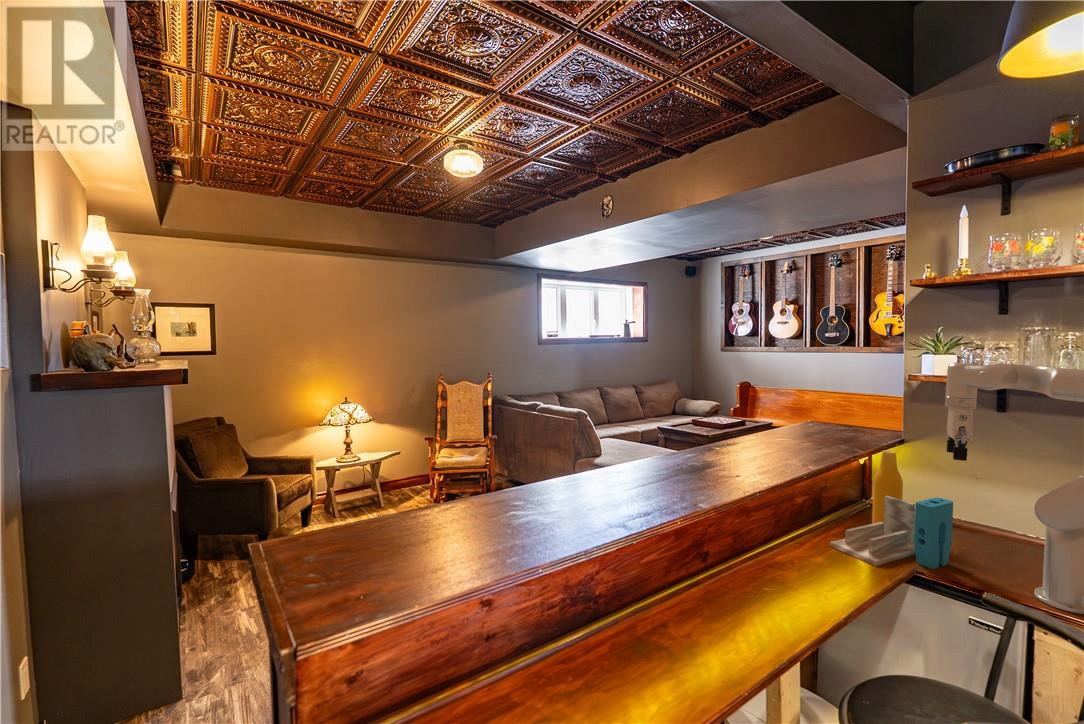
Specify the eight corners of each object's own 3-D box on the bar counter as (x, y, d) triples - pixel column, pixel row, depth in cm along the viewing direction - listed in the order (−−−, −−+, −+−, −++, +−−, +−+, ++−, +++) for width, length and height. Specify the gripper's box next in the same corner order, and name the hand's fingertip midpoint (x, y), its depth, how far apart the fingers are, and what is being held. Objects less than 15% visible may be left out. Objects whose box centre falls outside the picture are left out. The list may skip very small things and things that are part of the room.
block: (934, 556, 167) (937, 497, 166) (952, 563, 162) (954, 501, 161) (911, 563, 162) (914, 502, 161) (928, 570, 158) (931, 507, 156)
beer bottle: (866, 525, 194) (868, 450, 192) (881, 521, 198) (883, 447, 196) (891, 534, 185) (894, 455, 183) (907, 529, 189) (909, 453, 187)
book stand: (923, 552, 170) (925, 507, 169) (875, 565, 161) (877, 518, 160) (876, 534, 185) (877, 493, 184) (830, 546, 176) (831, 502, 175)
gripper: (983, 407, 149) (978, 465, 150) (969, 399, 164) (965, 451, 165) (950, 405, 152) (946, 461, 154) (940, 397, 167) (936, 448, 169)
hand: (956, 456), depth 160 cm, fingers open, 9 cm apart
